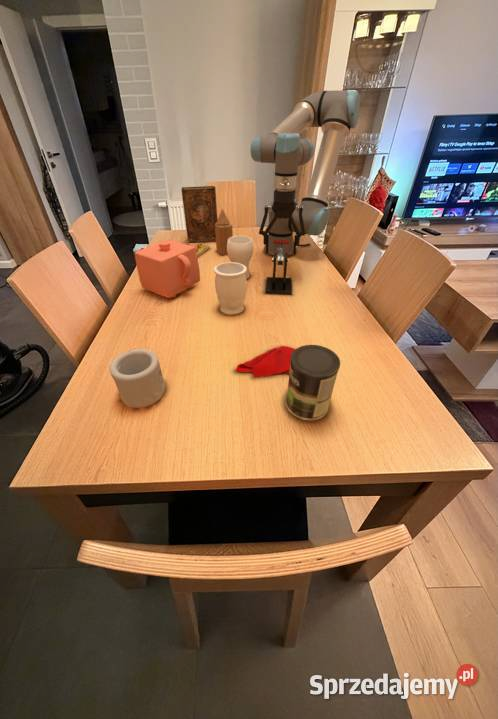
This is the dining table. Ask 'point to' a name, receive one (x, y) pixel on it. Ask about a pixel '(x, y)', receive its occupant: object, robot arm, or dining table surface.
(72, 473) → the dining table surface
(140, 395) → the grey hollow cylinder
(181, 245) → the teapot
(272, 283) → the lever stand
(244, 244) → the cup
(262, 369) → the cloth
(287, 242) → the corkscrew
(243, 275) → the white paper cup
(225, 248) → the decorative item
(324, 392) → the coffee can
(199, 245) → the pizza slice
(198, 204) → the book
